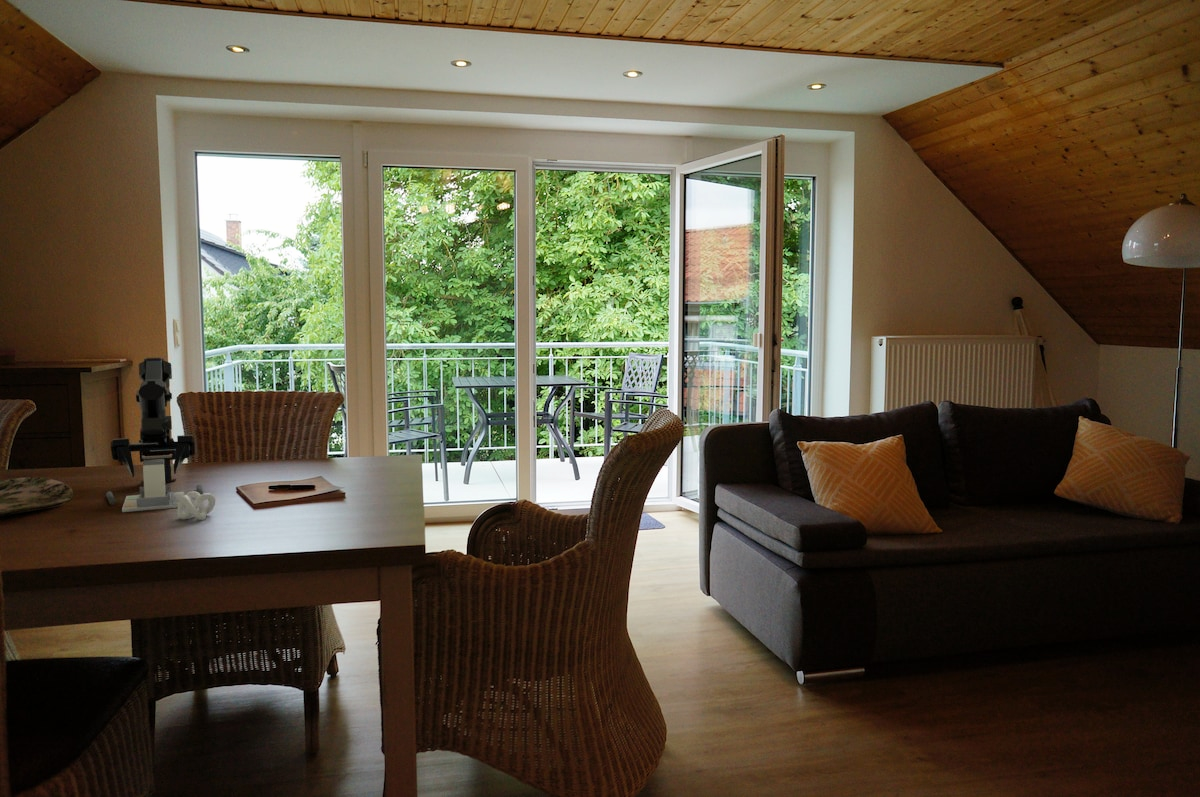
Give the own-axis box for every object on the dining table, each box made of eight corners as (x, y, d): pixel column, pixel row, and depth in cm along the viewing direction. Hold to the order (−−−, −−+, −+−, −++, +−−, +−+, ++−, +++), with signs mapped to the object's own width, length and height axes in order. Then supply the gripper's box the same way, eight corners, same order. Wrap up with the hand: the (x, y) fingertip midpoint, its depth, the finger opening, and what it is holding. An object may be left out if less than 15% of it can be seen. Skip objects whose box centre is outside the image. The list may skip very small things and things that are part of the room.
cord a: (196, 489, 223) (196, 484, 223) (202, 489, 224) (202, 483, 224) (197, 498, 212) (196, 493, 212) (203, 497, 213) (202, 492, 213)
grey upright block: (145, 495, 211) (143, 459, 210) (165, 494, 213) (164, 458, 212) (144, 499, 207) (142, 462, 206) (165, 497, 209) (163, 461, 208)
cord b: (105, 496, 214) (105, 491, 214) (112, 496, 215) (111, 490, 215) (109, 505, 204) (109, 500, 204) (116, 505, 205) (116, 499, 204)
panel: (126, 499, 211) (125, 488, 211) (184, 494, 217) (183, 483, 217) (122, 512, 197) (121, 500, 197) (184, 506, 203) (183, 495, 202)
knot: (209, 512, 197) (208, 488, 197) (222, 518, 192) (221, 493, 191) (174, 517, 192) (173, 492, 192) (187, 523, 186) (185, 498, 186)
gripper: (109, 407, 209) (107, 457, 200) (192, 403, 217) (195, 452, 208) (113, 434, 217) (112, 484, 208) (193, 430, 225) (196, 478, 216)
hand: (154, 474), depth 210 cm, fingers open, 9 cm apart
